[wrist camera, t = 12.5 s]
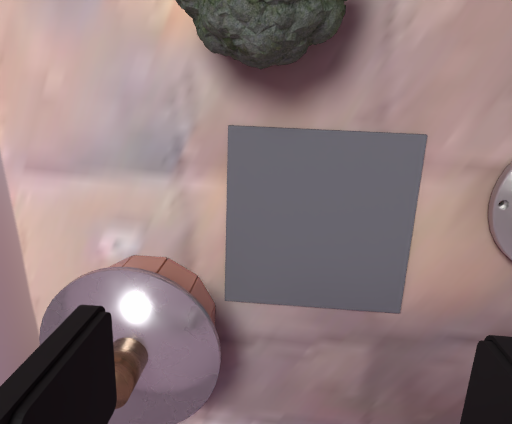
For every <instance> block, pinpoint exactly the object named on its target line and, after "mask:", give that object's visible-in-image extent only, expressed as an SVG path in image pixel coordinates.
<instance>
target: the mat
mask: <svg viewBox="0 0 512 424" xmlns="http://www.w3.org/2000/svg"><path fill="white" fill-rule="evenodd" d="M426 141H427V135H426V134H404V133H383V132H362V131H340V130H319V129H298V128H277V127H255V126H234V125H229V126H228V164H227V214H226V263H225V301H238V302H252V303H265V304H279V305H293V306H306V307H320V308H334V309H347V310H361V311H375V312H388V313H400V309H401V303H402V296H403V290H404V283H405V277H406V270H407V264H408V257H409V251H410V244H411V238H412V231H413V225H414V218H415V212H416V206H417V199H418V193H419V186H420V180H421V173H422V167H423V160H424V154H425V147H426Z"/></svg>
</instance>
